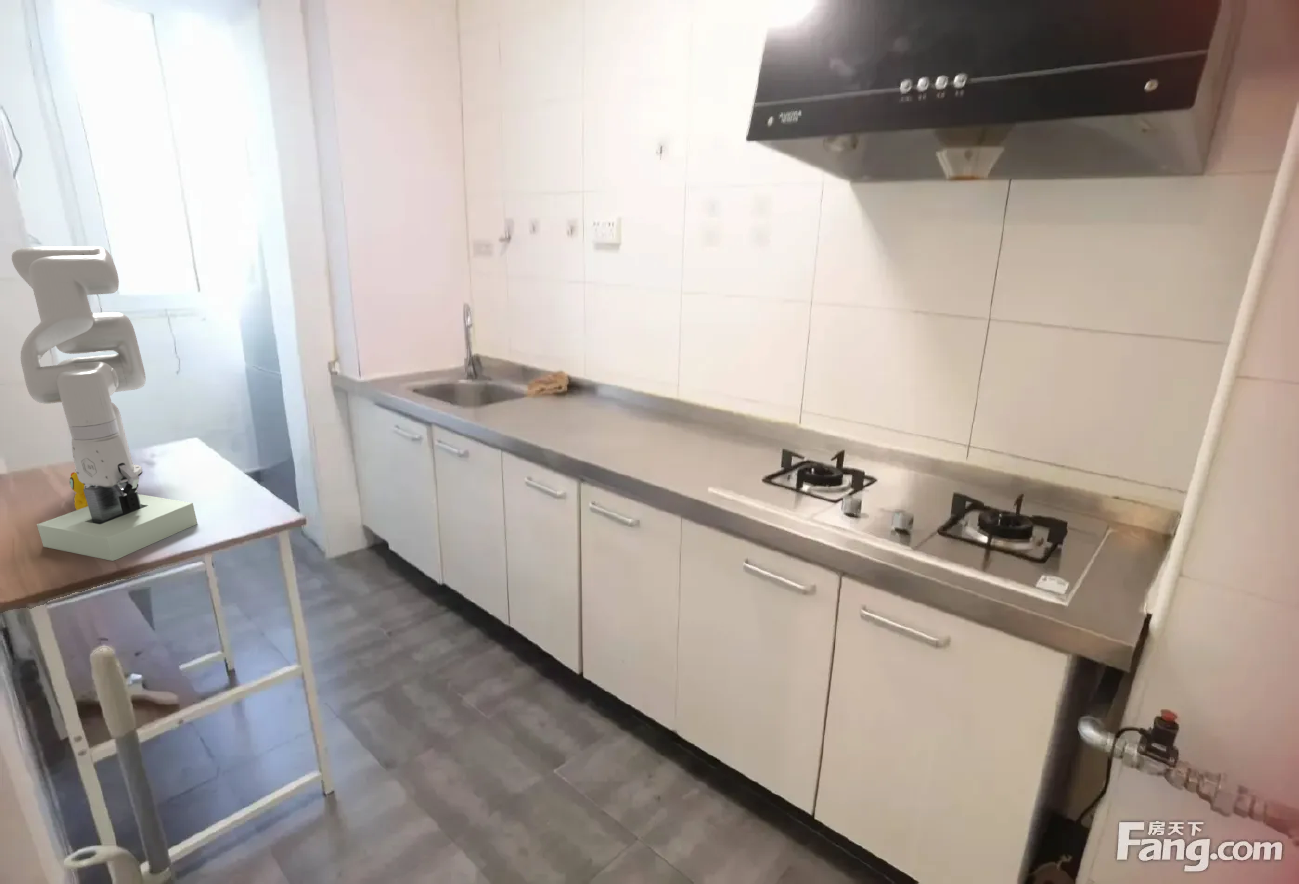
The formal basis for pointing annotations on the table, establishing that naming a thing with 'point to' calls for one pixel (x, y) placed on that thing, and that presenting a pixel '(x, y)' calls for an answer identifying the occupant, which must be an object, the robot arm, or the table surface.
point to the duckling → (78, 491)
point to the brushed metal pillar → (104, 503)
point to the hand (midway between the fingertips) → (116, 508)
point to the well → (118, 529)
